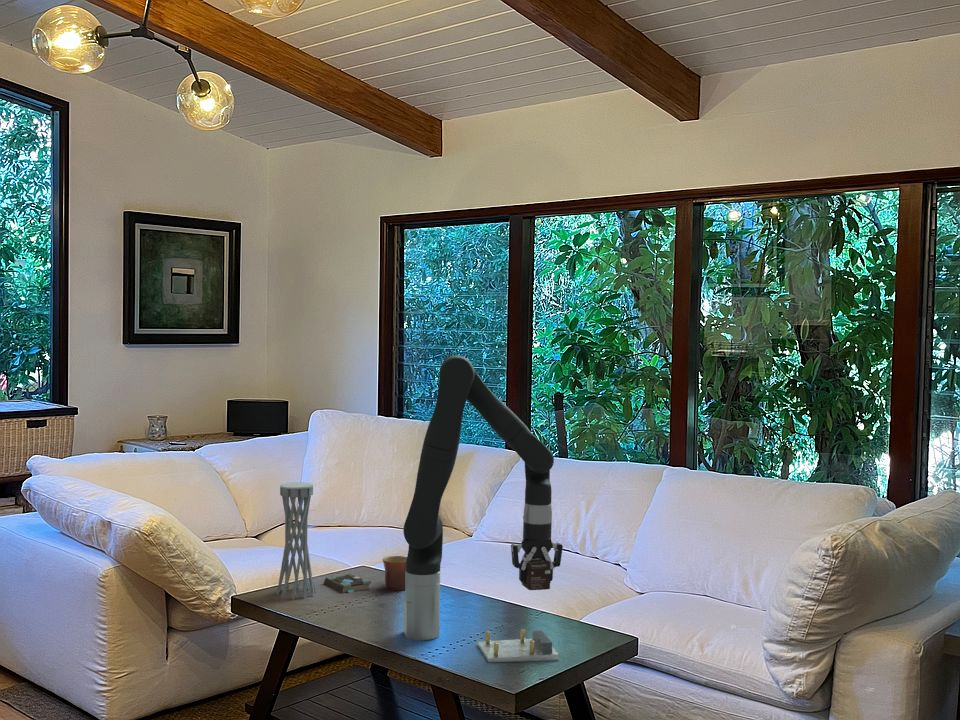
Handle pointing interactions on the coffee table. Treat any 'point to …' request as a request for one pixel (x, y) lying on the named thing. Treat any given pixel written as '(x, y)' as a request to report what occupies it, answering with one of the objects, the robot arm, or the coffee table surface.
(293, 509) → the grey lattice tower
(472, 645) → the coffee table surface
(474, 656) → the coffee table surface
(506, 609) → the coffee table surface
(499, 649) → the chassis
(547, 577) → the box
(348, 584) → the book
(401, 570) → the mug
